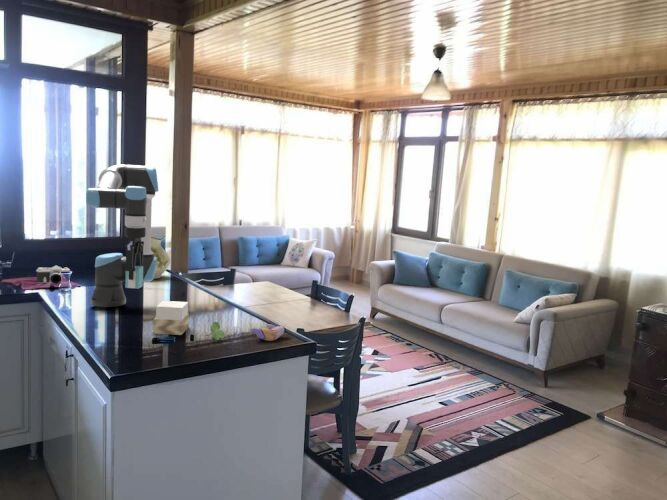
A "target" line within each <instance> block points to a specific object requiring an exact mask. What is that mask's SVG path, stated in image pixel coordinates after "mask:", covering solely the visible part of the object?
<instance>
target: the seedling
mask: <svg viewBox="0 0 667 500" xmlns="http://www.w3.org/2000/svg"><path fill="white" fill-rule="evenodd" d="M209 330H210V334H206V335H204V337H208V336H211V335H212V337H213V339H215V340H216V341H219V340H220V339H223V338H225V335H226V333H225V332H224V330H222V329H221V325H220V324H219V322H218V321H214V322H213V323H212V325H210V329H209Z"/></svg>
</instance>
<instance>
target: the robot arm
mask: <svg viewBox="0 0 667 500" xmlns="http://www.w3.org/2000/svg"><path fill="white" fill-rule="evenodd" d="M157 175H158V173H157V169H156V168H155V167H154V166H152V165H140V164H123V163H122V164H113V165H110V166H109V167H106V168H105V169H103V170H102V171H101V172H100V174H99V175H98V183H97V185H96V187H90V188H87V190H86V196H85V197H86V199H85V200H86V206H87V207H89V208H96V209H119V210H121V209H123V210H125V212H124V226H125V228H124V237H126V238H128V243H127V244H125V246H124V247H125V256H124V255H123V253H121V252H111V253H104V254H103V253H102V254H100V255H98V256H96V257H95V260H94V261H95V264H94V268H95V269H94V270H95V271H94V273H95V274H94V275H95V276H94V289H93V292H92V295H91V298H90V306H91V305H92V306H94V307H98V308H113V307H119V306H123V305H125V304H126V303H127V297H126V295H125V292H124V288H123V282H126V271H128V288H127V289H134V288H136V271H135V266H143V283H144V282H152V281H153V280H155V279H154V273H155V267H156V261H157V257H154V253H153V252H152V251H151V237H152V208H153V207H152V204H153V203H152V201H153V198H154V197H155V196H156V193H157V192H159V182H158V176H157Z"/></svg>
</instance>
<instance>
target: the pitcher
mask: <svg viewBox="0 0 667 500" xmlns="http://www.w3.org/2000/svg"><path fill="white" fill-rule="evenodd" d="M165 237H166V236H163V237H161V238H157V237H153V236H151V251H152V252H153V253H154V257H157V261H156V267H155V273H154V279H153V280H156V279H160V278H161V277H162V275H163V274H164V273H165V272H166V271H167V269H168V268H169V267H170V264H171V257H170V256H169V254H168V252H167V251H166V250H165V248H163V247H162V241H163V240H164V239H165Z"/></svg>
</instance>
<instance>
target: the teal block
mask: <svg viewBox="0 0 667 500" xmlns="http://www.w3.org/2000/svg"><path fill="white" fill-rule="evenodd" d="M135 271H136V288H133V289H136V290H137V289H140V288H143V286H144V282H143V266H135ZM124 286H125V289H129V288H128V271H126V281H125V285H124Z"/></svg>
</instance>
